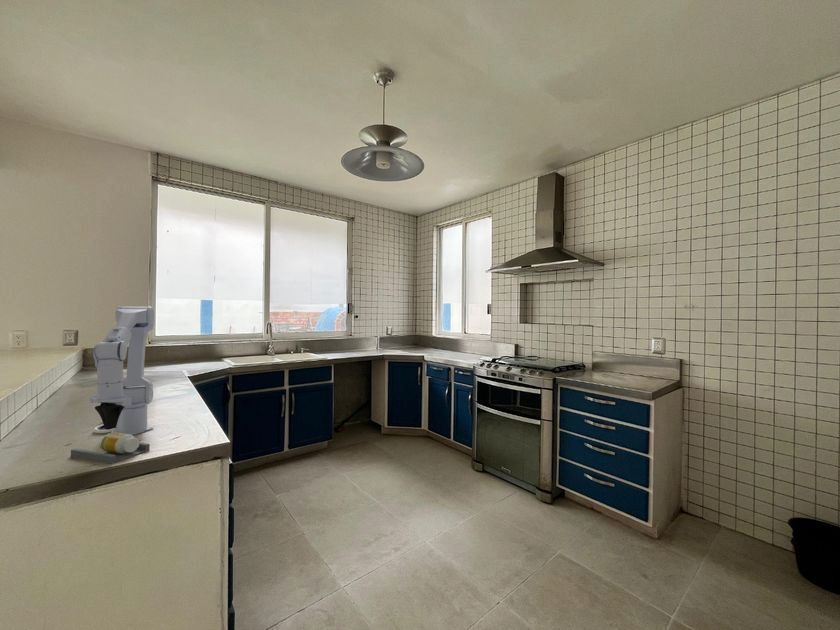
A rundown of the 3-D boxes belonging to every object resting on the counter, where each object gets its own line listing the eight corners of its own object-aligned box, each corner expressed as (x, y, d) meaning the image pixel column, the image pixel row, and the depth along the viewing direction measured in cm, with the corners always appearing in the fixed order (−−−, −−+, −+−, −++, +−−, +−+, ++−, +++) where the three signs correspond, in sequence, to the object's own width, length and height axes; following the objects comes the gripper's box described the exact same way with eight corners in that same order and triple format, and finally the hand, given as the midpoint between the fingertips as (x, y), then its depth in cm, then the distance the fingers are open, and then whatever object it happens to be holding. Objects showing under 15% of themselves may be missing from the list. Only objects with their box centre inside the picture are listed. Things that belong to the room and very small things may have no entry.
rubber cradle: (70, 456, 100) (70, 449, 100) (110, 444, 110) (110, 438, 110) (111, 464, 95) (111, 456, 95) (149, 450, 105) (149, 443, 105)
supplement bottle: (114, 428, 105) (137, 431, 103) (123, 441, 108) (145, 444, 105) (95, 441, 101) (118, 445, 98) (104, 455, 103) (127, 459, 100)
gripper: (77, 383, 101) (77, 430, 101) (112, 386, 97) (112, 435, 97) (105, 379, 108) (105, 423, 108) (139, 381, 104) (139, 427, 104)
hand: (110, 428), depth 103 cm, fingers closed
